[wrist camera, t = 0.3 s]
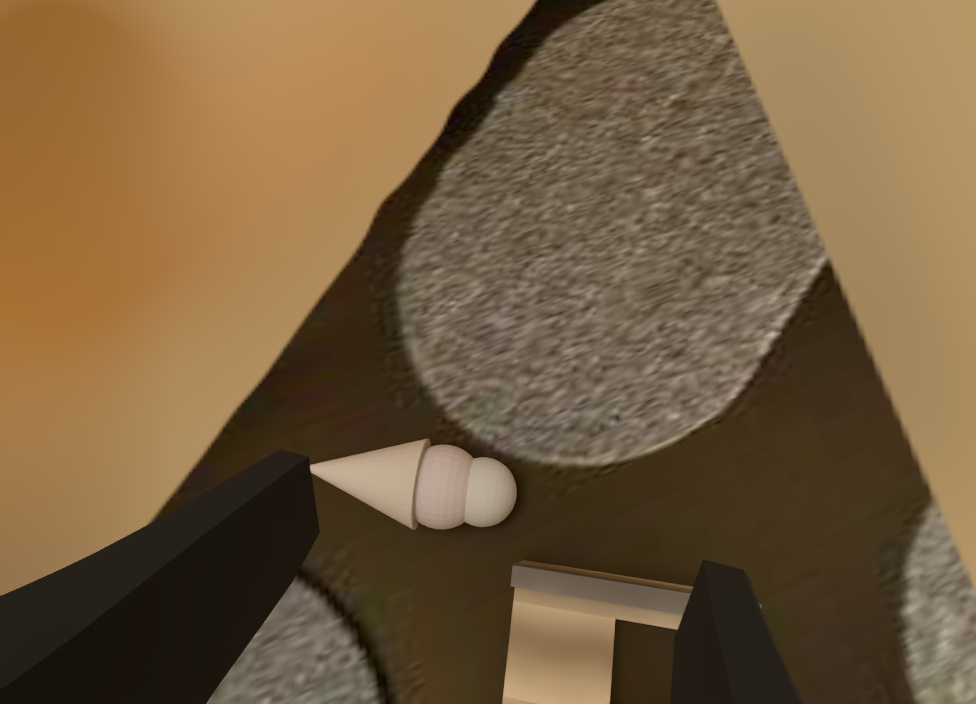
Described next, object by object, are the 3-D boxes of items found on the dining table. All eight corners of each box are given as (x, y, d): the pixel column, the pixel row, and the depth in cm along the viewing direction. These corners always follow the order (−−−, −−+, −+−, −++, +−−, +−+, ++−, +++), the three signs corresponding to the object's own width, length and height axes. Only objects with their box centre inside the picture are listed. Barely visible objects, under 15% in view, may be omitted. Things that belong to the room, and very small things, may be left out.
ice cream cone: (322, 464, 43) (516, 491, 42) (290, 531, 38) (508, 563, 37) (312, 404, 40) (524, 432, 38) (275, 469, 35) (516, 502, 34)
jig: (740, 817, 32) (760, 863, 28) (501, 760, 35) (487, 793, 31) (742, 594, 35) (761, 604, 31) (523, 560, 38) (512, 565, 34)
